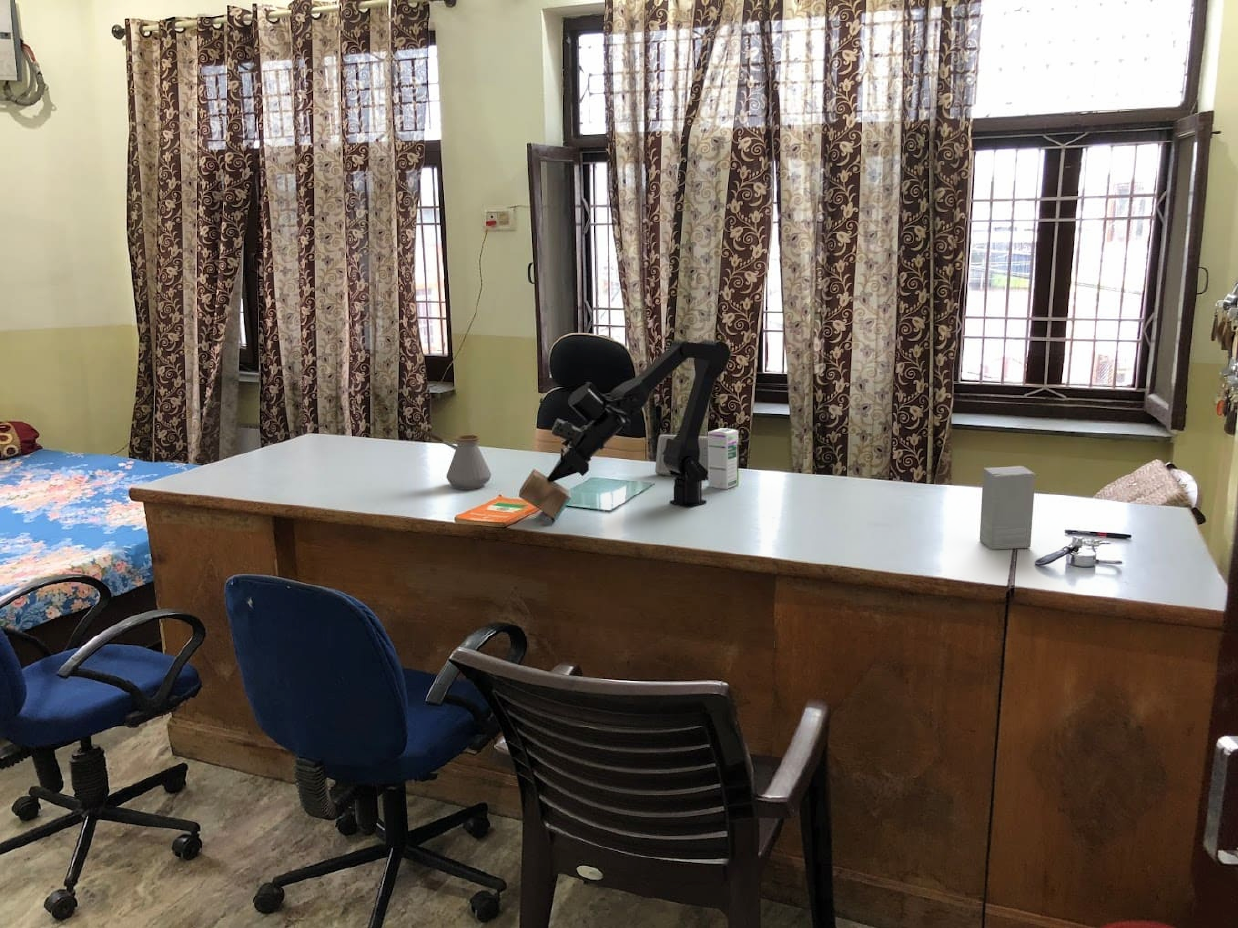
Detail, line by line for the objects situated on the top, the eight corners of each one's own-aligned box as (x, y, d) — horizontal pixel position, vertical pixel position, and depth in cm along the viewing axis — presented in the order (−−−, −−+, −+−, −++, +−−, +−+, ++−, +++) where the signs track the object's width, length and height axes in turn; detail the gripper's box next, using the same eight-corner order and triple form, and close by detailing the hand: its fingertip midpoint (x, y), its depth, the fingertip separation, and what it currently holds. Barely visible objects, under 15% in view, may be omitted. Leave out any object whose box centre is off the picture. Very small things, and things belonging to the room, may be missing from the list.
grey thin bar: (550, 511, 229) (550, 506, 228) (551, 525, 217) (551, 520, 217) (542, 511, 228) (542, 506, 228) (542, 525, 217) (542, 520, 216)
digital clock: (651, 475, 263) (651, 436, 261) (667, 468, 270) (667, 431, 268) (706, 482, 255) (706, 441, 252) (721, 475, 262) (721, 435, 260)
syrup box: (727, 489, 246) (727, 432, 243) (707, 486, 249) (707, 430, 246) (738, 485, 250) (739, 429, 247) (719, 482, 254) (719, 427, 251)
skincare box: (1017, 539, 201) (1022, 464, 198) (1032, 550, 194) (1038, 472, 191) (976, 540, 201) (981, 465, 197) (990, 551, 194) (995, 473, 190)
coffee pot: (499, 482, 257) (497, 426, 254) (478, 493, 247) (475, 434, 244) (429, 477, 265) (426, 422, 262) (405, 486, 254) (401, 430, 251)
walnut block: (570, 491, 225) (533, 468, 223) (571, 498, 219) (533, 474, 217) (556, 512, 226) (519, 490, 224) (556, 519, 220) (518, 496, 218)
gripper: (571, 401, 227) (523, 447, 228) (574, 413, 208) (521, 464, 210) (605, 435, 229) (557, 481, 230) (610, 450, 211) (558, 500, 212)
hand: (548, 480), depth 221 cm, fingers closed, pressing on walnut block
